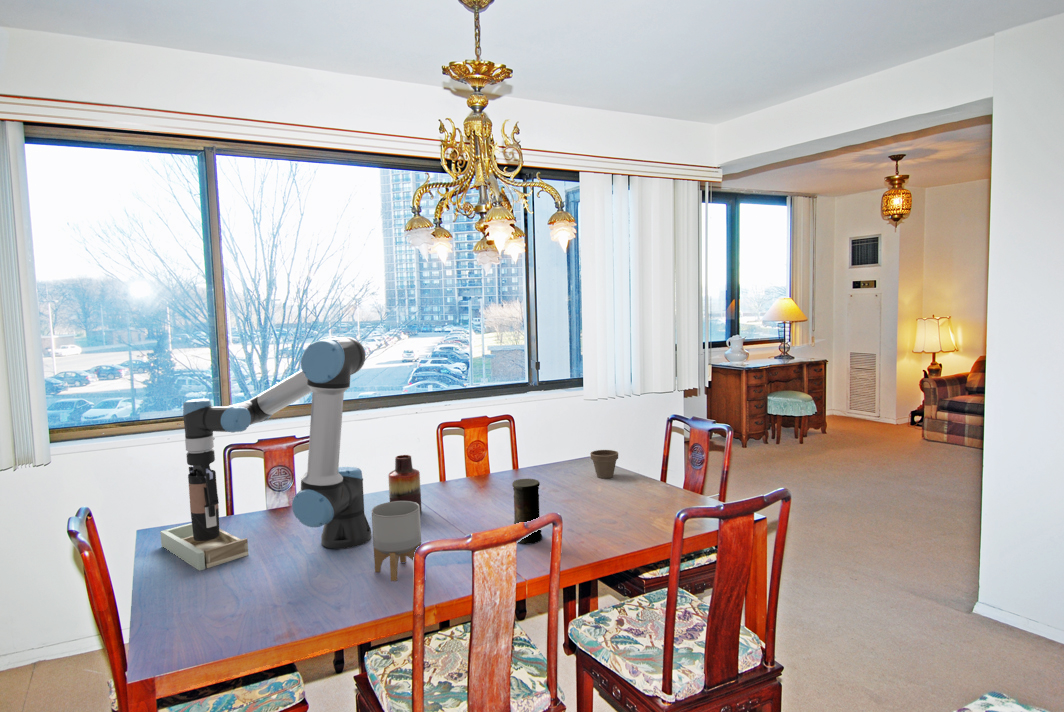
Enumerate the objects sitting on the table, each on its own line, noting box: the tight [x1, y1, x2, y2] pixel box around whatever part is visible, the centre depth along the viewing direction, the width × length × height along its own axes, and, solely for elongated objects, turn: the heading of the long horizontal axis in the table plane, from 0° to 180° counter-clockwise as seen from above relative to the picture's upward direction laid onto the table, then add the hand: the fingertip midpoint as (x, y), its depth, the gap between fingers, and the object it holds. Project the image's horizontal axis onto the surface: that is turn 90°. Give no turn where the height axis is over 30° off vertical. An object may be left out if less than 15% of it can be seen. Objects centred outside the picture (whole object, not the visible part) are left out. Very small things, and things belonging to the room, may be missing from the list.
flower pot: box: [590, 449, 619, 479], centre depth 265 cm, size 12×11×10 cm
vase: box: [387, 454, 422, 515], centre depth 226 cm, size 11×11×20 cm
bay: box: [159, 522, 206, 572], centre depth 198 cm, size 29×15×5 cm, turn 49°
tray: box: [182, 528, 249, 569], centre depth 195 cm, size 20×12×5 cm, turn 49°
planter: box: [371, 501, 422, 582], centre depth 178 cm, size 13×13×18 cm
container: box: [511, 478, 543, 545], centre depth 199 cm, size 9×9×18 cm
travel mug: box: [187, 469, 220, 541], centre depth 197 cm, size 8×8×20 cm
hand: (205, 523), depth 198 cm, fingers closed on travel mug, 8 cm apart
